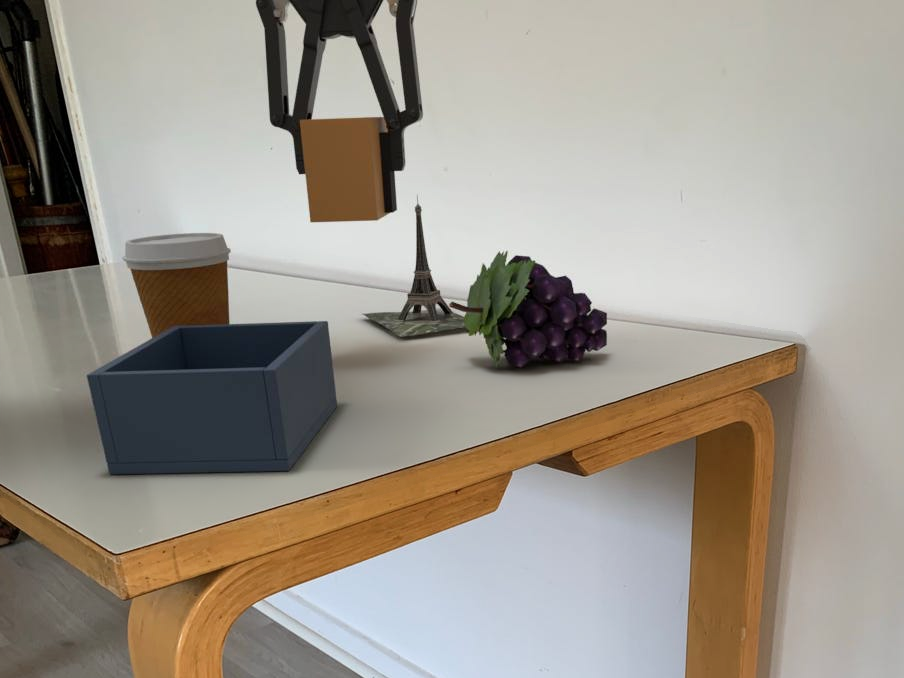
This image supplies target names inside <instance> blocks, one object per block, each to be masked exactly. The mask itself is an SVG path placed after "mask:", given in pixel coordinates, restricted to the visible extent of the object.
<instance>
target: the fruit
mask: <svg viewBox="0 0 904 678" xmlns="http://www.w3.org/2000/svg"><path fill="white" fill-rule="evenodd" d="M504 252H505V253H504ZM508 252H509V251H508V250H506V251H505V250H504V251H502V252H501V251H500V250H499V251H497V253H496V255H495V256H494V258H493V259H492V262H491V263H490V265H489V266H488V268H487V266H486V264H485V263H484V262H482V265H481V267H480V273H479V274H477V275H476V280H475V281H474V282H473V284H472V285H470V286H469V290H468V296H467V299H466V306H465V305H463V304H460V303H457V302H454V301H451V302H450V303H448V307H449V308H450V309H451V308H452V309H454V310H456V311H460V312H463V313H465V314H464V315H463V317H464V326H465V327H464V328H465V329H466V330H467V331H468V337H472V336H474V337H476V335H477V334H478V335H479V336H481V334H482V335H483V339H484V341H485V344H486V347H487V349H488V354H489V356H490V358H491V359H492V360H493V364H494V365H493V366H494V368H495V369H497V367H498V365H499V364H500V363H501V355H503V354H504V355H503V356H504V357H505V359H506V361H507V362H508V365H509V366H511V367H515V368H521V369H522V368H523V367H524V366H526V364H527V363H528V362H530V361H531V359H532V358H534V357H535V358H537V359H540V360H543V361H546V360H550V361H553V362H555V363H559V364H561V363H562V362H563V361H564V360H565V359H566V358H567V359H568V360H571V361H582V360H583V357H584V355H585V352H586V351H587V352H588V353H591V351H595V352H597V351H599V350H601V349H603V348H605V347H606V346H607V343H608V332H607V330H606V329H604V327H605V326H606V325H607V324H608V313H607V312H605V311H603V310H600V309H598V308H593V309H592V306H591V305H592V304H593V302H592V301H591V299H590V298H589V296H587V294H586V293H585V292H577V293H575V292H574V286H573V282H572V279H571V278H569V277H568V276H567V275H561V276H556V277H555V276H554V275H552V274H550V272H549V271H548V270H547V268H546V267H545V266H544V265H543V264H541V263H538V262H536V260H532V258H531V256H530V255H529V256H528V255H514V256H513V257H512V258H511V259H510V260H509V261H508V262H507V258H508ZM504 345H505V348H506V349H504V348H503V346H504Z"/></svg>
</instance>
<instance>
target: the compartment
mask: <svg viewBox="0 0 904 678" xmlns="http://www.w3.org/2000/svg"><path fill="white" fill-rule="evenodd" d="M330 338H331V337H330V330H329V322H328V320H318V321H317V320H315V321H286V322H285V321H284V322H255V323H253V322H252V323H251V322H250V323H230V324H220V325H190V326H173V327H171V328H169V329H168V330H166V331H164V332H162V333H160V334H159V335H157V336H155V337H153V338H152V337H151V338H150V339H148V340H147V341H145V342H143V343H140V344H139V345H137V346H135V347H134V348H132V349H130V350H128V351H127V352H125V353H124V354H121V355H119V356H118V357H116V358H114V359H112V360H111V361H109V362H107V363H106V364H103V365H102V366H101V367H99V368H97V369H95V370H93V371H91V372H89V373H88V374H87V375H86V379H87V383H88V388H89V391H90V396H91V400H92V404H93V410H94V415H95V418H96V422H97V426H98V431H99V435H100V441H101V443H102V448H103V453H104V457H105V461H106V464H107V469H108V473H109V475H147V474H148V475H151V474H152V475H153V474H154V475H155V474H157V475H158V474H199V473H200V474H201V473H204V474H206V473H249V472H250V473H251V472H255V473H256V472H289V471H290V470H291V469H292V468H293V467H294V465H295V463H297V461H298V460H299V458H300V457H301V455H302V454H303V453H304V451H305V450H306V449H307V447H308V446H309V445H310V443H311V442H312V441H313V440H314V438H315V436H316V435H317V434H318V433H319V431H320V429H321V428H322V427H323V426H324V424H325V423H326V422H327V420H328V419H329V418H330V416H331V415H332V414H333V413H334V411H335V410H336V408H337V407H338V399H337V390H336V382H335V372H334V365H333V356H332V348H331V347H332V346H331V339H330Z"/></svg>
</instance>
